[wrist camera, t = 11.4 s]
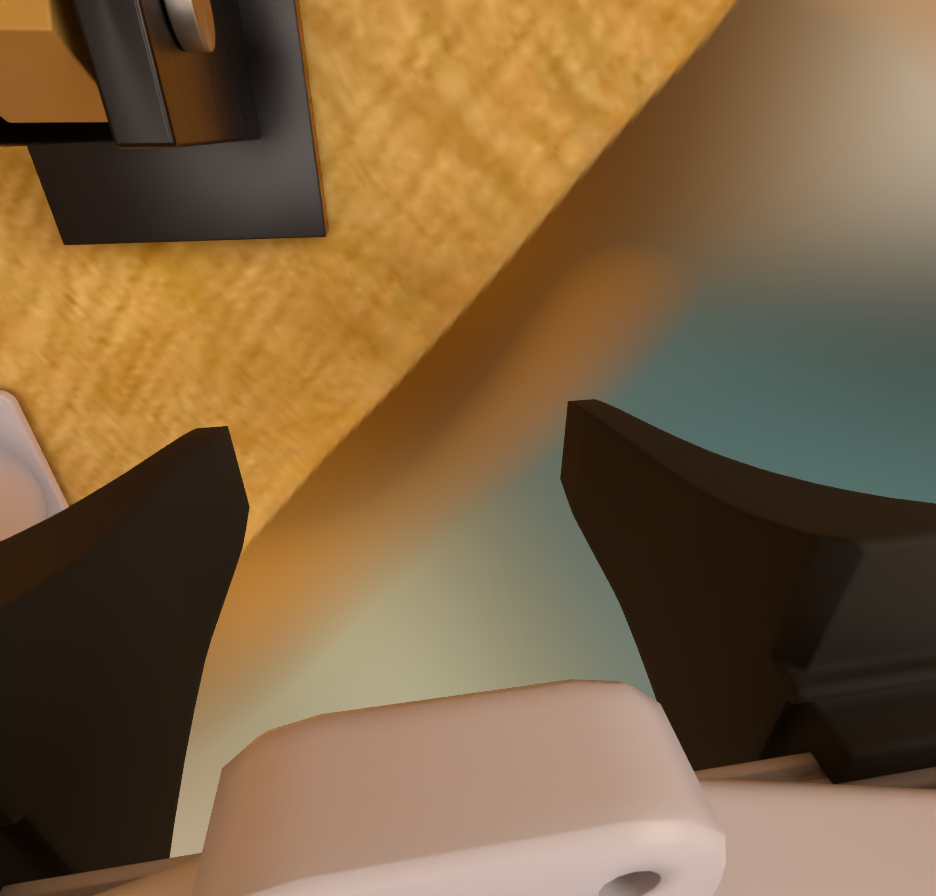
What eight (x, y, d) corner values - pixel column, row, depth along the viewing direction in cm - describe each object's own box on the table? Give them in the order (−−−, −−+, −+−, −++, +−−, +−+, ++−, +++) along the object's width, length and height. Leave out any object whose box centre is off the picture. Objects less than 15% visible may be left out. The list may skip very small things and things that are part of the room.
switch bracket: (-80, -214, 13) (-854, -796, 5) (273, -192, 14) (131, -639, 6) (81, 238, 18) (-156, 328, 10) (329, 231, 19) (295, 306, 11)
